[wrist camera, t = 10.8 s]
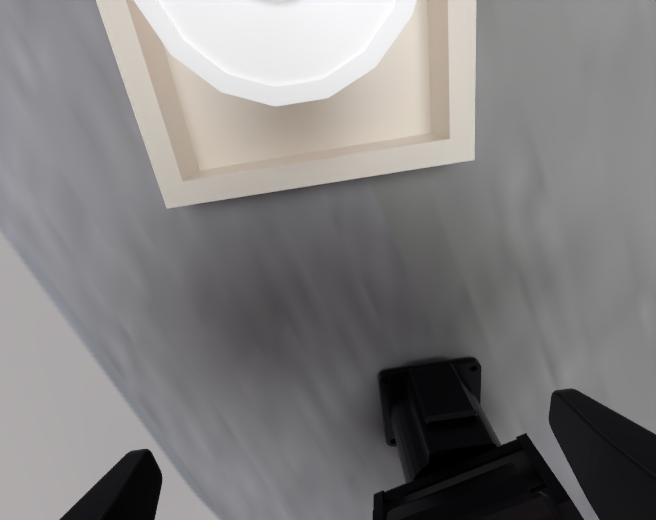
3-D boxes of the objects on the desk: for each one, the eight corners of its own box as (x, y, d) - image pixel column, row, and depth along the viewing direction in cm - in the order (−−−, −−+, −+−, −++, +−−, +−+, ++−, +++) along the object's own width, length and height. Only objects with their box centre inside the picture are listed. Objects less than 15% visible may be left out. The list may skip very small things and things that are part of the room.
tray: (446, 148, 19) (474, 159, 15) (191, 189, 19) (166, 208, 16) (439, -226, 13) (480, -326, 10) (84, -160, 14) (15, -237, 10)
